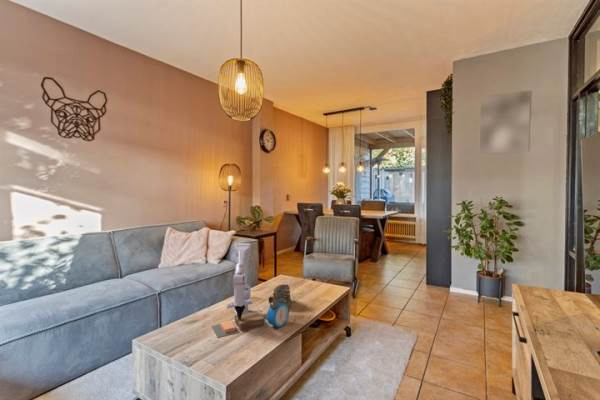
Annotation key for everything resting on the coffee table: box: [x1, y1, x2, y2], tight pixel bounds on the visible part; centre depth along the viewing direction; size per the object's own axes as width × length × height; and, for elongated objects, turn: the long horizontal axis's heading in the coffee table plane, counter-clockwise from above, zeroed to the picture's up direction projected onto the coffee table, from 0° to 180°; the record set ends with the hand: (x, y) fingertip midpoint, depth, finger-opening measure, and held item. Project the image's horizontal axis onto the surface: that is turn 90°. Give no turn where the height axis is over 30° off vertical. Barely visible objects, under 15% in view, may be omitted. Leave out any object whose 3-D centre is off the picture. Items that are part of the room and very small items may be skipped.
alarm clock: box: [266, 298, 290, 329], centre depth 169 cm, size 13×6×15 cm, turn 142°
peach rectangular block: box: [220, 320, 237, 333], centre depth 164 cm, size 9×6×2 cm, turn 30°
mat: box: [211, 321, 241, 338], centre depth 163 cm, size 14×12×1 cm
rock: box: [268, 283, 292, 307], centre depth 197 cm, size 18×14×15 cm
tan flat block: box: [234, 310, 265, 332], centre depth 170 cm, size 12×14×4 cm
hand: (239, 318), depth 167 cm, fingers closed
